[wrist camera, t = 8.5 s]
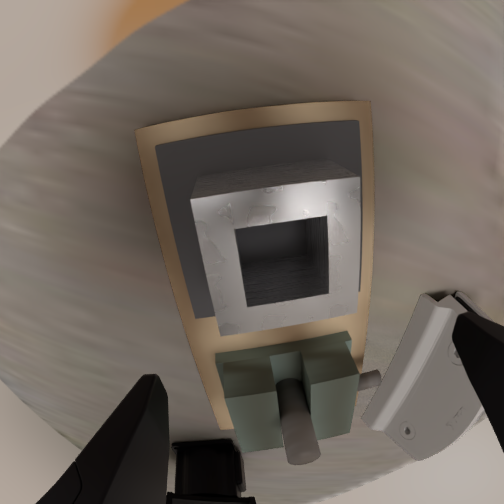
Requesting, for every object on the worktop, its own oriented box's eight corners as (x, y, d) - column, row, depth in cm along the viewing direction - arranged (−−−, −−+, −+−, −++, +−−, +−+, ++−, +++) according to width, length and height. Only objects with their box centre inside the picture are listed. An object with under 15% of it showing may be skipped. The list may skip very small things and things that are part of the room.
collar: (219, 289, 18) (220, 336, 14) (198, 176, 15) (190, 199, 11) (332, 271, 18) (357, 312, 14) (328, 158, 15) (359, 176, 12)
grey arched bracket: (422, 290, 23) (517, 361, 15) (450, 280, 25) (533, 340, 17) (359, 420, 30) (415, 483, 22) (389, 404, 32) (442, 460, 24)
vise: (220, 412, 27) (223, 499, 19) (143, 127, 16) (74, 150, 8) (354, 388, 27) (386, 467, 19) (363, 100, 16) (465, 108, 8)
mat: (196, 313, 19) (195, 319, 19) (157, 144, 15) (154, 146, 14) (356, 286, 19) (360, 291, 19) (354, 119, 15) (359, 120, 14)
